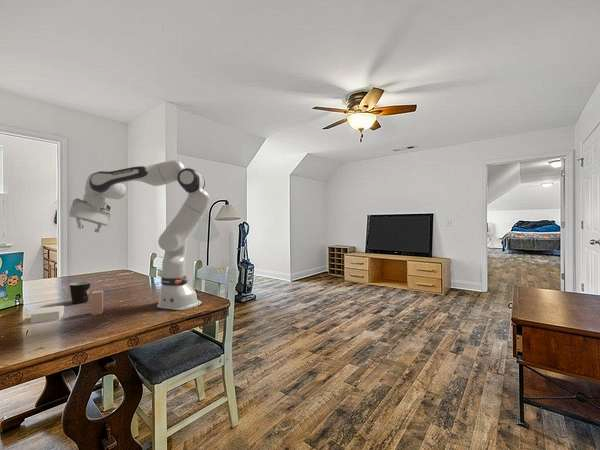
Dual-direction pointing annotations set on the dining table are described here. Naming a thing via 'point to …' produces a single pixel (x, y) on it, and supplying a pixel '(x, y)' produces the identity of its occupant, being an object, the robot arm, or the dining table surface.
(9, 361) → the dining table surface
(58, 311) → the cream block
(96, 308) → the tan rectangular block
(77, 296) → the coffee mug
